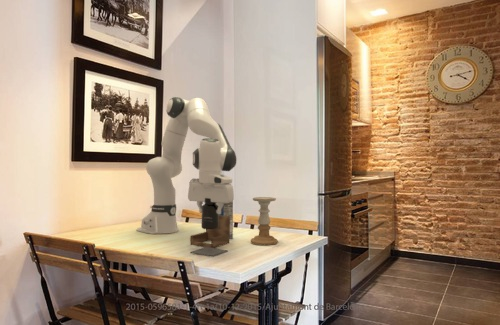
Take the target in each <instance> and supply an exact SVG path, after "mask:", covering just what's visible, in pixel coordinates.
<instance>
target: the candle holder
mask: <svg viewBox="0 0 500 325" xmlns="http://www.w3.org/2000/svg"><path fill="white" fill-rule="evenodd" d="M252 200H253V201H254V202H257V203H258V205H259V206H260V207H259V208H260V209H258V212H259V217H258V221H257V223H258V226H257V229H258V235H255V236H254V237H252V238H251V239H250V243H251V244H252V245H255V246H273V245H277V244H279V243H278V239H277V238H275V237H274V236H273V235H271V234H270V229H271V226H270V224H271V219H270V216H269V213H270V209H269V205H270V204H271V202H275V201H276V200H277V198H276V197H272V196H271V197H270V196H258V197H257V196H256V197H253V198H252Z"/></svg>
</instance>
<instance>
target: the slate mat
mask: <svg viewBox="0 0 500 325" xmlns="http://www.w3.org/2000/svg"><path fill="white" fill-rule="evenodd" d="M225 253H228V249H223V248H218V247H216V248H210V247H201V248H198V249H195V250H192V251H190V254H193V255H199V256H207V257H217V256H220V255H222V254H225Z"/></svg>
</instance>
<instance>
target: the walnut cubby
mask: <svg viewBox="0 0 500 325" xmlns="http://www.w3.org/2000/svg"><path fill="white" fill-rule="evenodd" d="M189 240H190V246H195V247H201V248H204V247H210V248H219V247H221V246H225V245H228V244H230V240H231V239H230V216H222V215H219V227H218V228H217V229H205V231H204V232H200V233H196V234H191V235H190V239H189ZM209 242H211V243H209Z"/></svg>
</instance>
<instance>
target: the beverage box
mask: <svg viewBox="0 0 500 325" xmlns="http://www.w3.org/2000/svg"><path fill="white" fill-rule="evenodd" d="M216 204H217V205H218V203H216ZM218 206H219V205H218ZM219 215H222V216H230V240H232V239H233V238H234V237H233V236H234V235H233V232H234V227H233V226H234V222H233V221H234V200H233V201H232V202H231V203H224V205H223V207H222V209H221V214H219Z"/></svg>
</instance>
